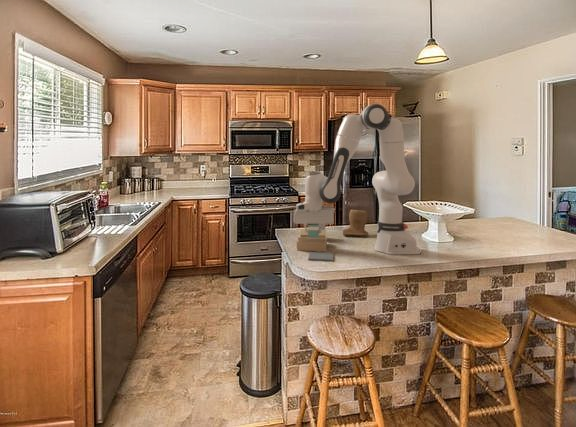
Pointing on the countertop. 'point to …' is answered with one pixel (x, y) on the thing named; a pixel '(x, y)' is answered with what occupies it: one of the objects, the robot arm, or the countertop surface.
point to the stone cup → (356, 223)
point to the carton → (312, 242)
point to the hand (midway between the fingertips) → (313, 232)
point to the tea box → (313, 230)
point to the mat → (320, 256)
